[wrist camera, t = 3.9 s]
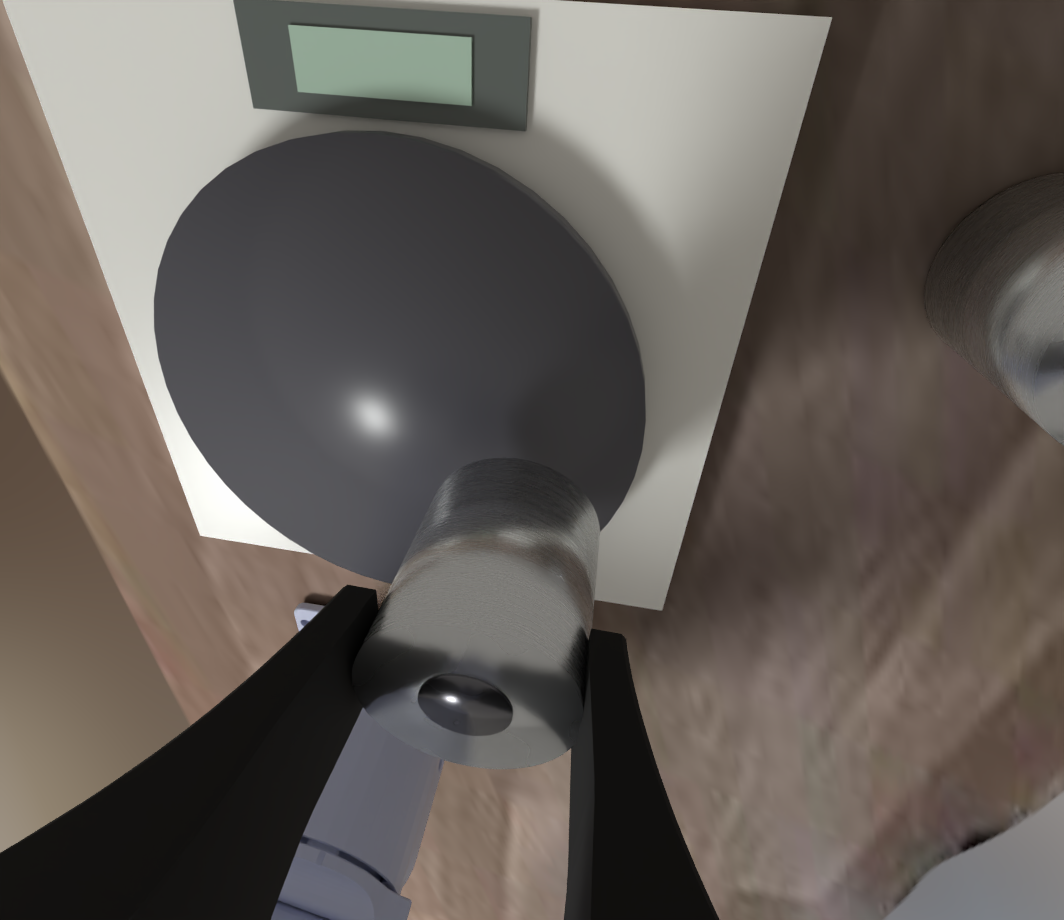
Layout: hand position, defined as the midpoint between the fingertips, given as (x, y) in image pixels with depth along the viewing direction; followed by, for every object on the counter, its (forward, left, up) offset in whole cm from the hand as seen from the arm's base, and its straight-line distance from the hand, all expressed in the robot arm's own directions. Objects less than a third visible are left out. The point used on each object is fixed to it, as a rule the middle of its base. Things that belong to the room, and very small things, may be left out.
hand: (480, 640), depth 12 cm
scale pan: (+1, +4, -7) cm, 8 cm away
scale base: (+2, +4, -8) cm, 9 cm away
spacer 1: (0, 0, -4) cm, 4 cm away
